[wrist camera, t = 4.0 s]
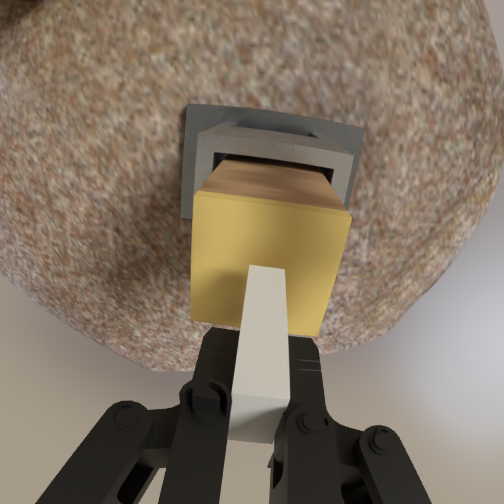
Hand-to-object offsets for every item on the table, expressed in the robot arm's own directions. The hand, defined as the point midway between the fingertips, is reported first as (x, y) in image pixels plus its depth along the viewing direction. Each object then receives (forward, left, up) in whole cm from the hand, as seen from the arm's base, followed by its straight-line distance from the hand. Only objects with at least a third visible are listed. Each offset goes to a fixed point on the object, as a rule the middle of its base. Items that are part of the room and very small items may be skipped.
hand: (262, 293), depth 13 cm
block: (0, 0, -16) cm, 16 cm away
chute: (0, 0, -25) cm, 25 cm away
